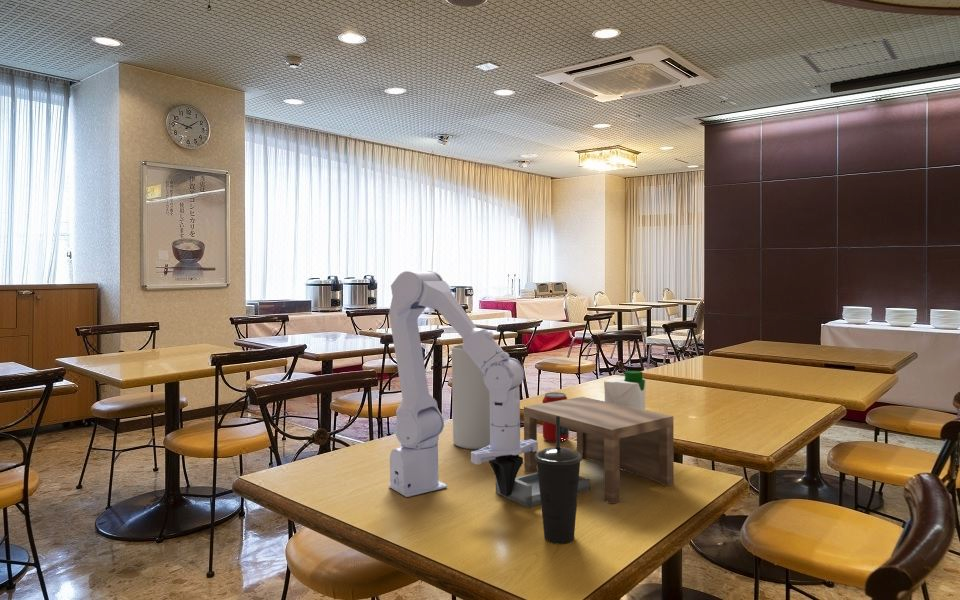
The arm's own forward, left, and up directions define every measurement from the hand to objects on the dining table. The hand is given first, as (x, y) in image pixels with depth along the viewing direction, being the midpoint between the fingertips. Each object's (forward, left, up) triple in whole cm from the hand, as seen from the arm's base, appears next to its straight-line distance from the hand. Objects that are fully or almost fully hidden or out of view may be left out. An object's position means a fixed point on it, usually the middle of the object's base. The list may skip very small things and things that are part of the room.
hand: (505, 494), depth 117 cm
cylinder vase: (+19, +37, -2) cm, 42 cm away
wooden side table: (+24, 0, -1) cm, 24 cm away
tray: (+9, 0, -1) cm, 9 cm away
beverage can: (+37, +27, -2) cm, 46 cm away
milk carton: (+41, +7, -2) cm, 42 cm away
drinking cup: (-3, -18, -2) cm, 18 cm away
